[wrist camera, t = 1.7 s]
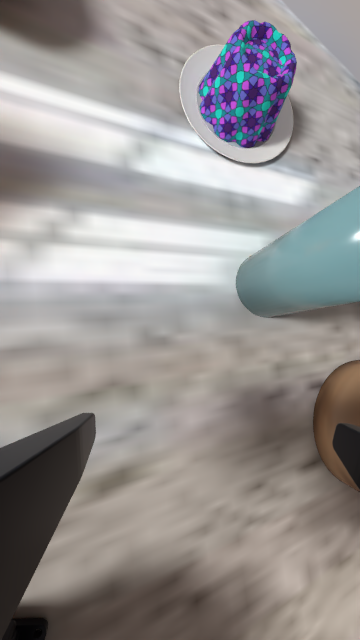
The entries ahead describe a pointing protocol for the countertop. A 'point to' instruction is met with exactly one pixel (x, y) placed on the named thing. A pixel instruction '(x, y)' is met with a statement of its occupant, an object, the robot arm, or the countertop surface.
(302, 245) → the teal tapered cylinder
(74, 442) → the robot arm
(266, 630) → the countertop surface
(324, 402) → the base plate
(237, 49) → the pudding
